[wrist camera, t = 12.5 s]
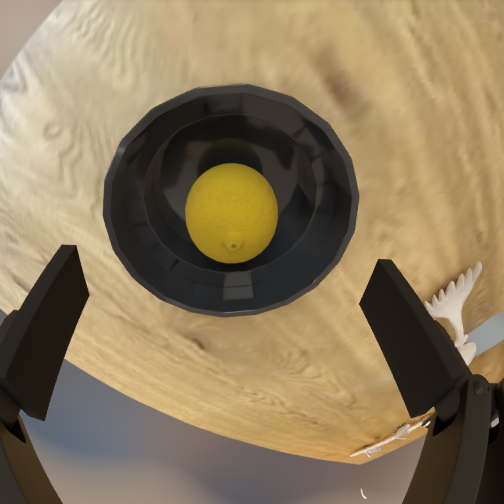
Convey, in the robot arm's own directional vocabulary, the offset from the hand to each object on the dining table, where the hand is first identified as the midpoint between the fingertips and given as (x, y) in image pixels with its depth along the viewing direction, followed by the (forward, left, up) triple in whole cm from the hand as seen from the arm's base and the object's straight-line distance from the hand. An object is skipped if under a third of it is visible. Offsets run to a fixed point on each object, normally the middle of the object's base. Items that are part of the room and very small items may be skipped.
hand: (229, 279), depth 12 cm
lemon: (0, 0, -11) cm, 11 cm away
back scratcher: (+38, +12, -11) cm, 42 cm away
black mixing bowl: (0, 0, -11) cm, 11 cm away
